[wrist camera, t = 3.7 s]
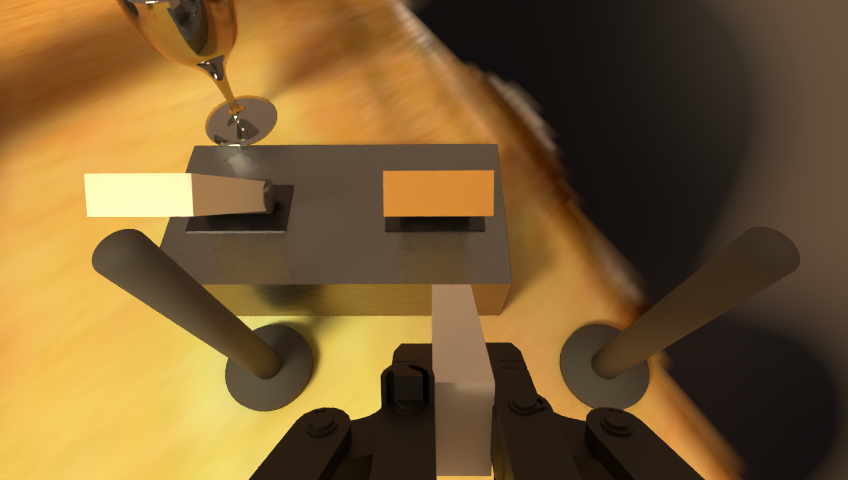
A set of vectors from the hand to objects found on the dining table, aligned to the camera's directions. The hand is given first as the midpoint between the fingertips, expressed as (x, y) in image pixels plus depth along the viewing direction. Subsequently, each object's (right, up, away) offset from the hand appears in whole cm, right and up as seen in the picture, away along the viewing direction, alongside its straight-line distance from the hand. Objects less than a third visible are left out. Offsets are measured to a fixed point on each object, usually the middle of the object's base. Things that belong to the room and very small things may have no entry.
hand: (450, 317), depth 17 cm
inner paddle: (-14, +6, +14) cm, 21 cm away
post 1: (-12, -6, +15) cm, 20 cm away
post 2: (+12, -6, +15) cm, 20 cm away
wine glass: (-20, +15, +27) cm, 37 cm away
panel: (-7, +2, +20) cm, 21 cm away
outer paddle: (0, +6, +14) cm, 16 cm away
